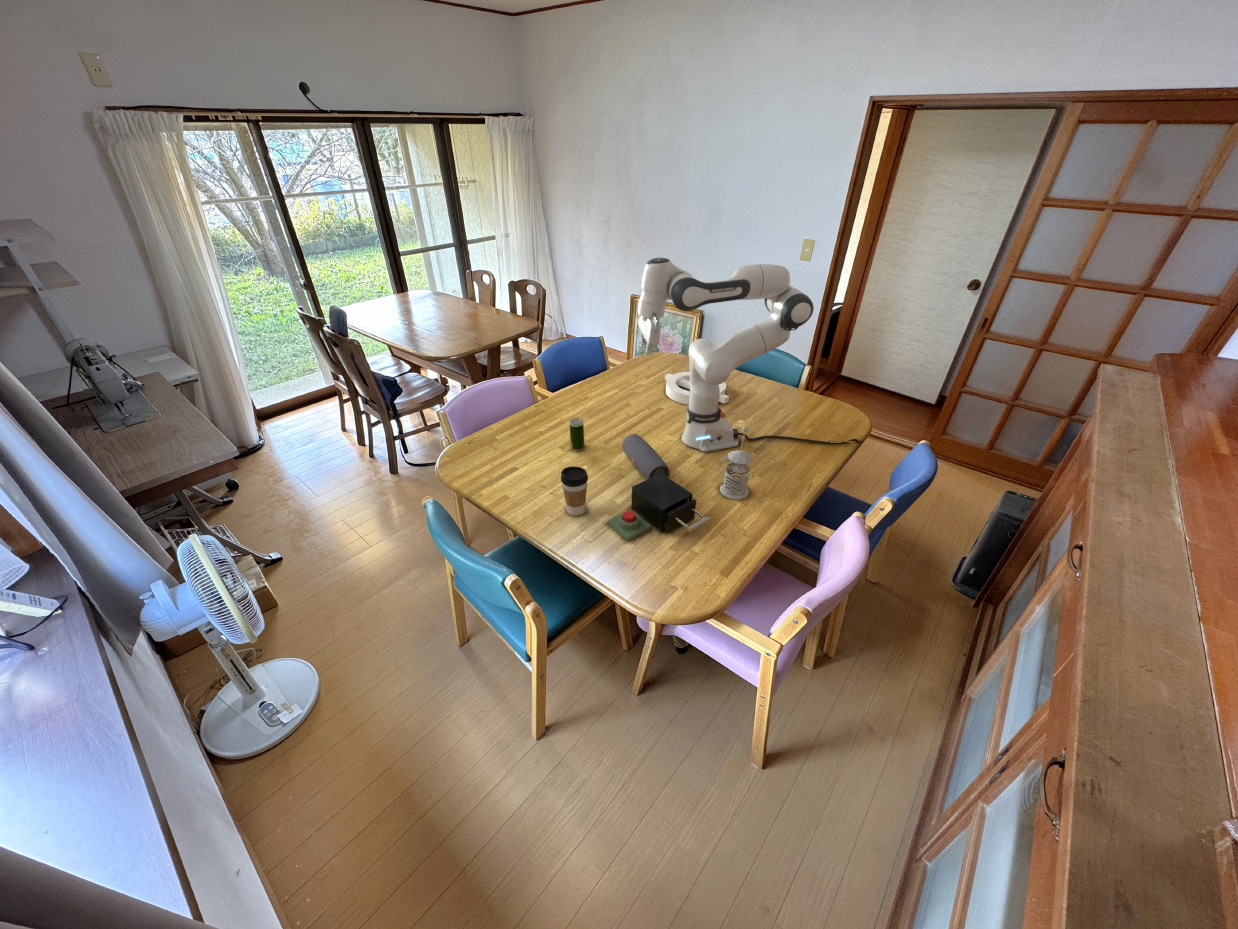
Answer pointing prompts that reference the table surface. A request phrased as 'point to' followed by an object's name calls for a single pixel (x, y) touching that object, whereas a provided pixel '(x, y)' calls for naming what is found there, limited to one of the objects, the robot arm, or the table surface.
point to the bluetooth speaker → (644, 457)
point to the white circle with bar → (684, 381)
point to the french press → (735, 485)
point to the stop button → (629, 516)
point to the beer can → (577, 434)
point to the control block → (629, 526)
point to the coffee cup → (574, 489)
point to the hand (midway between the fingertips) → (645, 349)
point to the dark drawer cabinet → (657, 498)
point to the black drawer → (682, 516)
